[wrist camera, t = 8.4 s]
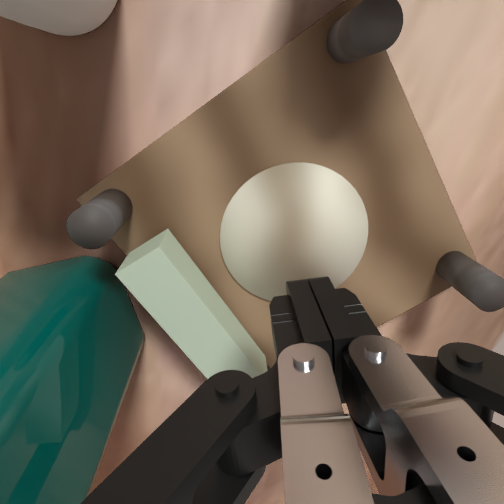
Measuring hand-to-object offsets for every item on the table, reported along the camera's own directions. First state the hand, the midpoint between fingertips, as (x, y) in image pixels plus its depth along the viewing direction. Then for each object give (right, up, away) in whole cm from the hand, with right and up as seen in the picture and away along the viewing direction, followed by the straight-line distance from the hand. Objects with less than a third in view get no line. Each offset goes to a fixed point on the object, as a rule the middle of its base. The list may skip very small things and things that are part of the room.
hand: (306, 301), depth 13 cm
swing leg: (-5, -2, +10) cm, 11 cm away
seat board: (0, +3, +11) cm, 11 cm away
